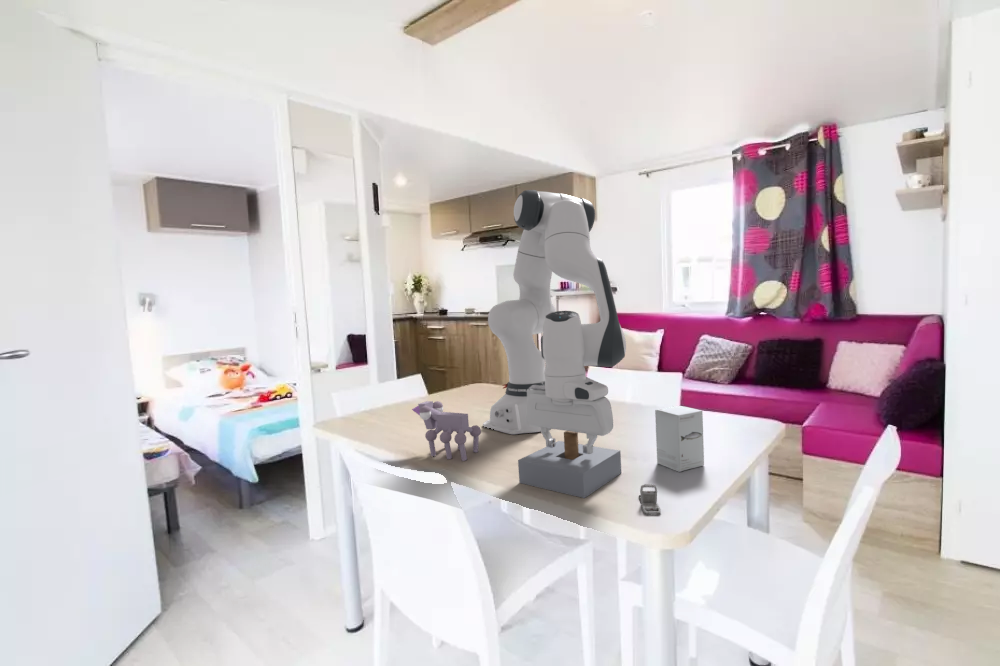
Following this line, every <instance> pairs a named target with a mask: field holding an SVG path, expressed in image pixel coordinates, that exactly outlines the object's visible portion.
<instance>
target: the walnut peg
mask: <svg viewBox="0 0 1000 666" xmlns="http://www.w3.org/2000/svg"><path fill="white" fill-rule="evenodd" d="M563 442H564V449H565V459H571V460H574V459H576V458H578V457H579V450H578V444H579V433H578V432H571V431H564V432H563Z"/></svg>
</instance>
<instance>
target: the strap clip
mask: <svg viewBox="0 0 1000 666" xmlns="http://www.w3.org/2000/svg"><path fill="white" fill-rule="evenodd" d="M644 488H654V490H643V489H644ZM639 489H640V490H639V492H640V493H639V495H638V500H639V502H640V504H641V506H642V507H641V508H642V513H643V514H644V515H645V516H660V515H662V513H661V507H660V506H659V504H658V503H657V502H658V488H657V485H656V484H653V483H644V484H642V485H640V488H639Z"/></svg>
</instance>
